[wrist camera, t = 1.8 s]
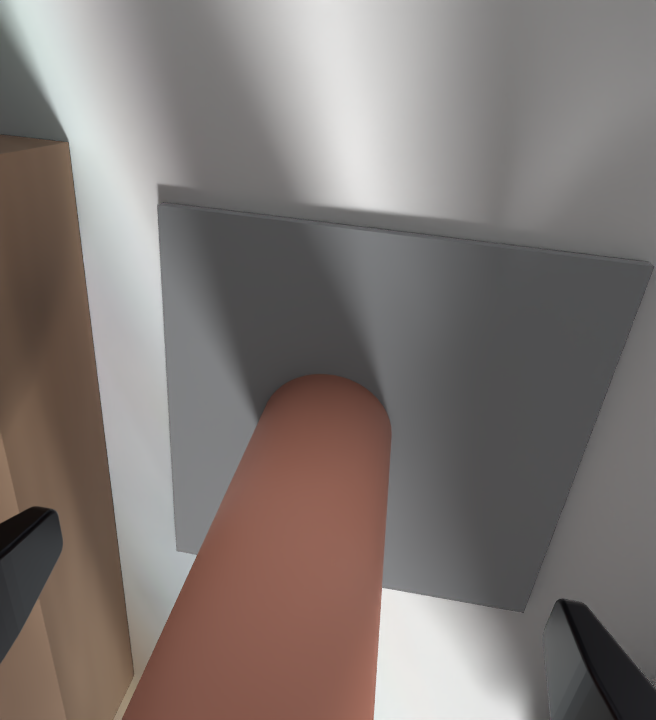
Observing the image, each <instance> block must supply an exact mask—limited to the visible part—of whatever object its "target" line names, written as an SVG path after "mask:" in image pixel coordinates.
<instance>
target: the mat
mask: <svg viewBox="0 0 656 720" xmlns="http://www.w3.org/2000/svg"><path fill="white" fill-rule="evenodd" d="M157 207H158V225H159V243H160V261H161V279H162V297H163V315H164V333H165V351H166V369H167V387H168V405H169V423H170V442H171V460H172V478H173V496H174V514H175V532H176V550H177V551H179V552H185V553H190V554H196V555H198V552H199V550H200V548H201V546H202V544H203V541H204V539H205V537H206V535H207V533H208V531H209V528H210V526H211V524H212V522H213V520H214V518H215V515H216V513H217V511H218V509H219V507H220V504H221V502H222V500H223V498H224V496H225V494H226V491H227V489H228V487H229V485H230V483H231V480H232V478H233V476H234V474H235V472H236V470H237V467H238V465H239V463H240V461H241V459H242V457H243V454H244V452H245V450H246V448H247V446H248V443H249V441H250V439H251V437H252V435H253V433H254V430H255V428H256V426H257V424H258V422H259V419H260V417H261V415H262V413H263V411H264V409H265V406H266V404H267V402H268V400H269V399H270V397H271V396H272V395H273V394H274V393H275V391H276V390H277V389H279V388H280V387H281V386H282V385H284V384H286V383H287V382H289V381H291V380H293V379H296V378H298V377H302V376H305V375H312V374H329V375H336V376H340V377H344V378H347V379H350V380H352V381H354V382H356V383H358V384H360V385H361V386H363V387H365V388H366V389H367V390H369V391H370V392H371V393H372V394H373V395H374V396H375V397H376V398H377V399H378V400H379V401H380V403H381V404H382V405H383V407H384V409H385V410H386V412H387V415H388V417H389V420H390V424H391V431H392V438H391V453H390V469H389V485H388V500H387V516H386V531H385V547H384V563H383V578H382V588H387V589H393V590H398V591H404V592H410V593H415V594H421V595H427V596H432V597H438V598H443V599H449V600H455V601H460V602H466V603H472V604H477V605H483V606H488V607H494V608H500V609H505V610H511V611H517V612H522V613H524V610H525V607H526V605H527V602H528V599H529V597H530V594H531V591H532V589H533V586H534V584H535V581H536V578H537V576H538V573H539V570H540V568H541V565H542V562H543V560H544V557H545V554H546V552H547V549H548V546H549V544H550V541H551V539H552V536H553V533H554V531H555V528H556V525H557V523H558V520H559V517H560V515H561V512H562V509H563V507H564V504H565V501H566V499H567V496H568V494H569V491H570V488H571V486H572V483H573V480H574V478H575V475H576V472H577V470H578V467H579V464H580V462H581V459H582V456H583V454H584V451H585V449H586V446H587V443H588V441H589V438H590V435H591V433H592V430H593V427H594V425H595V422H596V419H597V417H598V414H599V411H600V409H601V406H602V404H603V401H604V398H605V396H606V393H607V390H608V388H609V385H610V382H611V380H612V377H613V374H614V372H615V369H616V366H617V364H618V361H619V359H620V356H621V353H622V351H623V348H624V345H625V343H626V340H627V337H628V335H629V332H630V329H631V327H632V324H633V321H634V319H635V316H636V314H637V311H638V308H639V306H640V303H641V300H642V298H643V295H644V292H645V290H646V287H647V284H648V282H649V279H650V276H651V274H652V271H653V269H654V266H653V265H652V264H650V263H649V262H645V261H637V260H629V259H621V258H612V257H604V256H596V255H588V254H580V253H572V252H563V251H555V250H547V249H539V248H531V247H523V246H515V245H506V244H498V243H490V242H482V241H474V240H466V239H457V238H449V237H441V236H433V235H425V234H417V233H409V232H400V231H392V230H384V229H376V228H368V227H360V226H351V225H343V224H335V223H327V222H319V221H311V220H303V219H294V218H286V217H278V216H270V215H262V214H254V213H245V212H237V211H229V210H221V209H213V208H205V207H197V206H188V205H180V204H172V203H164V202H163V203H161V204H159V205H157Z"/></svg>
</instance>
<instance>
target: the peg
mask: <svg viewBox="0 0 656 720" xmlns="http://www.w3.org/2000/svg"><path fill="white" fill-rule="evenodd" d="M391 438H392V431H391V424H390V420H389V417H388V415H387V412H386V410H385V409H384V407H383V405H382V404H381V403H380V401H379V400H378V399H377V398H376V397H375V396H374V395H373V394H372V393H371V392H370V391H369V390H367V389H366V388H365V387H363V386H361V385H360V384H358V383H356V382H354V381H352V380H350V379H347V378H344V377H340V376H336V375H329V374H312V375H305V376H302V377H298V378H296V379H293V380H291V381H289V382H287V383H286V384H284V385H282V386H281V387H280V388H279V389H277V390H276V391H275V393H274V394H273V395H272V396H271V397H270V399H269V400H268V402H267V404H266V406H265V409H264V411H263V413H262V415H261V417H260V419H259V422H258V424H257V426H256V428H255V430H254V433H253V435H252V437H251V439H250V441H249V443H248V446H247V448H246V450H245V452H244V454H243V457H242V459H241V461H240V463H239V465H238V467H237V470H236V472H235V474H234V476H233V478H232V480H231V483H230V485H229V487H228V489H227V491H226V494H225V496H224V498H223V500H222V502H221V504H220V507H219V509H218V511H217V513H216V515H215V518H214V520H213V522H212V524H211V526H210V528H209V531H208V533H207V535H206V537H205V539H204V541H203V544H202V546H201V548H200V550H199V552H198V555H197V557H196V559H195V561H194V563H193V565H192V568H191V570H190V572H189V574H188V576H187V579H186V581H185V583H184V585H183V587H182V589H181V592H180V594H179V596H178V598H177V600H176V602H175V605H174V607H173V609H172V611H171V613H170V616H169V618H168V620H167V622H166V624H165V626H164V629H163V631H162V633H161V635H160V637H159V640H158V642H157V644H156V646H155V648H154V650H153V653H152V655H151V657H150V659H149V661H148V663H147V666H146V668H145V670H144V672H143V674H142V677H141V679H140V681H139V683H138V685H137V687H136V690H135V692H134V694H133V696H132V698H131V701H130V703H129V705H128V707H127V709H126V711H125V714H124V716H123V718H122V720H373V719H374V703H375V687H376V672H377V656H378V641H379V625H380V609H381V594H382V578H383V563H384V547H385V531H386V516H387V500H388V485H389V469H390V453H391Z"/></svg>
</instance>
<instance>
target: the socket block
mask: <svg viewBox="0 0 656 720" xmlns="http://www.w3.org/2000/svg"><path fill="white" fill-rule="evenodd" d="M33 506H40V507H46V508H51V509H54V510H56V511H57V513H58V515H59V520H60V526H61V531H62V537H63V548H62V552H61V554H60V557H59V559H58V561H57V562H56V564H55V566H54V568H53V570H52V572H51V574H50V576H49V578H48V580H47V582H46V584H45V586H44V588H43V590H42V592H41V594H40V596H39V598H38V600H37V602H36V603H35V605H34V607H33V609H32V611H31V613H30V615H29V617H28V619H27V621H26V623H25V625H24V626H23V628H22V630H21V632H20V634H19V635H18V637H17V639H16V640H15V642H14V644H13V645H12V647H11V648H10V650H9V652H8V653H7V655H6V656H5V658H4V659H3V661H2V662H1V664H0V720H113V719H114V717H115V715H116V713H117V711H118V708H119V706H120V704H121V702H122V700H123V698H124V696H125V694H126V691H127V689H128V687H129V685H130V683H131V681H132V679H133V677H134V671H133V663H132V655H131V647H130V639H129V631H128V623H127V615H126V606H125V598H124V590H123V582H122V574H121V566H120V558H119V550H118V541H117V533H116V525H115V517H114V509H113V501H112V493H111V485H110V477H109V468H108V460H107V452H106V444H105V436H104V428H103V420H102V412H101V403H100V395H99V387H98V379H97V371H96V363H95V355H94V347H93V338H92V330H91V322H90V314H89V306H88V298H87V290H86V282H85V273H84V265H83V257H82V249H81V241H80V233H79V225H78V217H77V208H76V200H75V192H74V184H73V176H72V168H71V160H70V152H69V143H68V142H62V141H53V140H44V139H36V138H27V137H18V136H10V135H1V134H0V523H2V522H4V521H5V520H7V519H9V518H11V517H13V516H15V515H17V514H19V513H21V512H22V511H24V510H26V509H28V508H30V507H33Z"/></svg>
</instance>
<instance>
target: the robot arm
mask: <svg viewBox="0 0 656 720" xmlns="http://www.w3.org/2000/svg"><path fill="white" fill-rule="evenodd" d="M62 548H63V537H62V531H61V526H60V520H59V515H58V513H57V511H56V510H54V509H51V508H46V507H40V506H33V507H30V508H28V509H26V510H24V511H22V512H21V513H19V514H17V515H15V516H13V517H11V518H9V519H7V520H5V521H4V522H2V523H0V664H1V662H2V661H3V659H4V658H5V656H6V655H7V653H8V652H9V650H10V648H11V647H12V645H13V644H14V642H15V640H16V639H17V637H18V635H19V634H20V632H21V630H22V628H23V626H24V625H25V623H26V621H27V619H28V617H29V615H30V613H31V611H32V609H33V607H34V605H35V603H36V602H37V600H38V598H39V596H40V594H41V592H42V590H43V588H44V586H45V584H46V582H47V580H48V578H49V576H50V574H51V572H52V570H53V568H54V566H55V564H56V562H57V561H58V559H59V557H60V554H61V552H62ZM543 647H544V657H545V668H546V678H547V689H548V699H549V709H550V720H656V689H655V688H654V687H653V686H652V684H651V683H650V682H649V681H648V680H647V678H646V677H645V676H644V675H643V673H642V672H641V671H640V670H639V669H638V667H637V666H636V665H635V664H634V663H633V661H632V660H631V659H630V658H629V657H628V655H627V654H626V653H625V652H624V650H623V649H622V648H621V647H620V646H619V644H618V643H617V642H616V641H615V640H614V638H613V637H612V636H611V635H610V633H609V632H608V631H607V630H606V629H605V627H604V626H603V625H602V624H601V623H600V621H599V620H598V619H597V618H596V617H595V615H594V614H593V613H592V612H591V610H590V609H589V608H588V607H587V606H586V605H585V604H584V603H582V602H578V601H572V600H567V599H559V600H557V601H556V603H555V605H554V607H553V610H552V612H551V615H550V617H549V619H548V622H547V624H546V627H545V630H544V635H543Z"/></svg>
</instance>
